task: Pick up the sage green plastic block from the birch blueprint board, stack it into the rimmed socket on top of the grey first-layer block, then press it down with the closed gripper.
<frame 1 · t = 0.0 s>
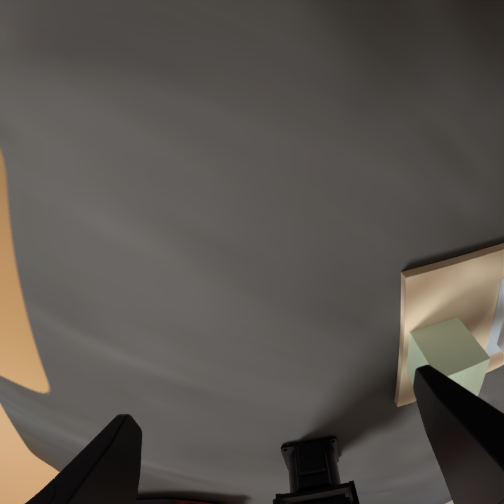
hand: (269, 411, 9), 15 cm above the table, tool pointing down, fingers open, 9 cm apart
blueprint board: (484, 318, 25), on the table
sage block: (431, 345, 25), point 1 cm above the table, touching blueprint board
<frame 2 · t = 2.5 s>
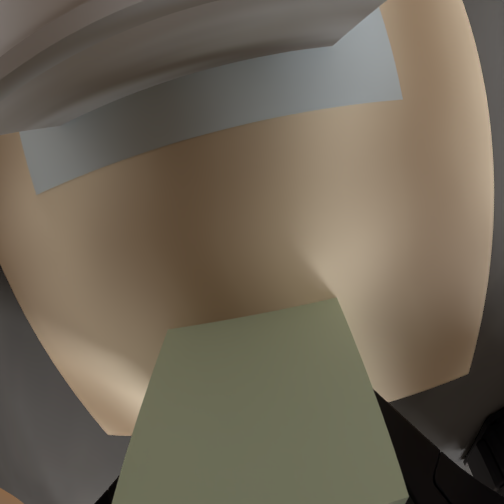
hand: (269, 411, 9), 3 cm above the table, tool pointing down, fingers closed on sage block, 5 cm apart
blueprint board: (210, 151, 8), on the table
sage block: (267, 376, 10), point 1 cm above the table, touching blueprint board, gripper
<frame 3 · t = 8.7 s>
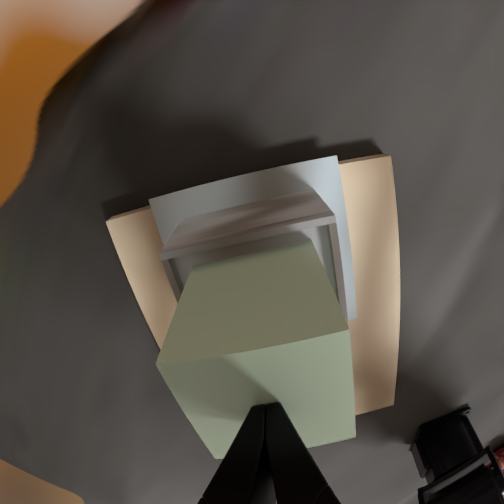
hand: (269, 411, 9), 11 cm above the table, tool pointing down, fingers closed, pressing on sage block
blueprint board: (279, 330, 21), on the table
sage block: (264, 304, 14), point 5 cm above the table, touching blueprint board, gripper
dish: (496, 463, 36), on the table
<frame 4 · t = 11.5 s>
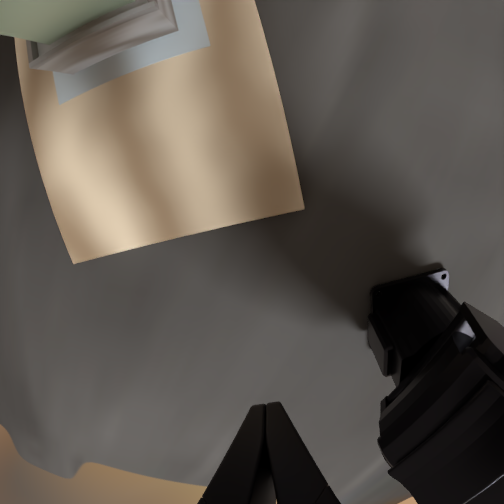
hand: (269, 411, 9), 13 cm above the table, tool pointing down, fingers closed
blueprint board: (135, 82, 16), on the table
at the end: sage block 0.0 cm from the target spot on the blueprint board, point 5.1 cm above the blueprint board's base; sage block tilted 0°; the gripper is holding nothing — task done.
